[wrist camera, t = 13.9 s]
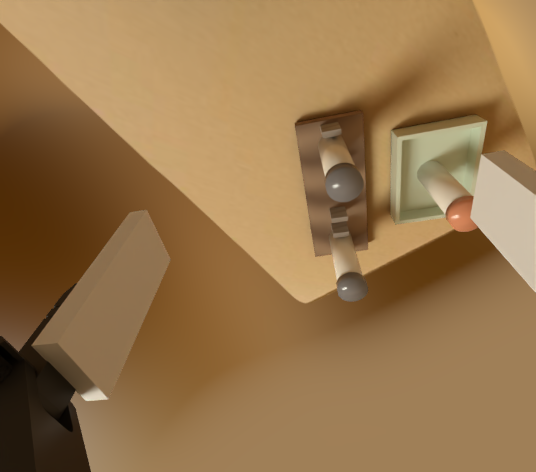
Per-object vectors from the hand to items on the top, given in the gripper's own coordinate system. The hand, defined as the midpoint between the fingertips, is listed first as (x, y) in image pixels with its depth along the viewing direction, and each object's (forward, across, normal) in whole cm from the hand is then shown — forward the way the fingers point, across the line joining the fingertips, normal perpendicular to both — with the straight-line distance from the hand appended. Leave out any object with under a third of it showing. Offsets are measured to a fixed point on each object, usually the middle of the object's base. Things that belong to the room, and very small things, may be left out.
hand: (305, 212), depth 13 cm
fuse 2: (+33, +4, -26) cm, 42 cm away
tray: (+35, +18, -17) cm, 43 cm away
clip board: (+35, +4, -18) cm, 39 cm away
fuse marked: (+34, +18, -17) cm, 42 cm away
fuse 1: (+33, +4, -10) cm, 35 cm away
